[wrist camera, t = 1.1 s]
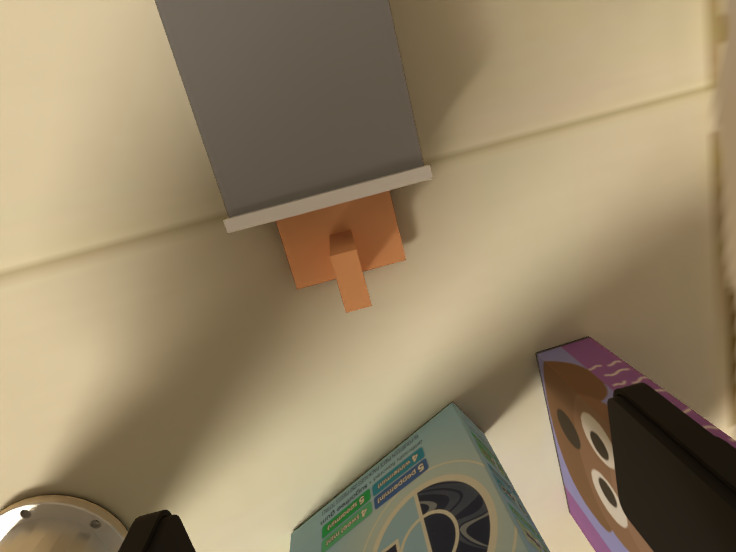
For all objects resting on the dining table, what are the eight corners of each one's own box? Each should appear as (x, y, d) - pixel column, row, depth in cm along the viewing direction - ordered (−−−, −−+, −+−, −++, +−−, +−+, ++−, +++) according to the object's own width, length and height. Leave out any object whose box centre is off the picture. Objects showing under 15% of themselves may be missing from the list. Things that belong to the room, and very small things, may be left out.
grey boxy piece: (410, 172, 35) (433, 178, 27) (249, 215, 34) (227, 233, 27) (355, -71, 30) (364, -144, 23) (170, -23, 30) (118, -80, 23)
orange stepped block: (405, 261, 35) (425, 291, 28) (298, 290, 35) (291, 327, 28) (350, 31, 31) (357, -5, 24) (227, 64, 31) (197, 37, 23)
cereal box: (535, 352, 40) (827, 637, 16) (588, 336, 40) (954, 597, 17) (569, 512, 44) (831, 904, 21) (616, 497, 44) (930, 873, 21)
